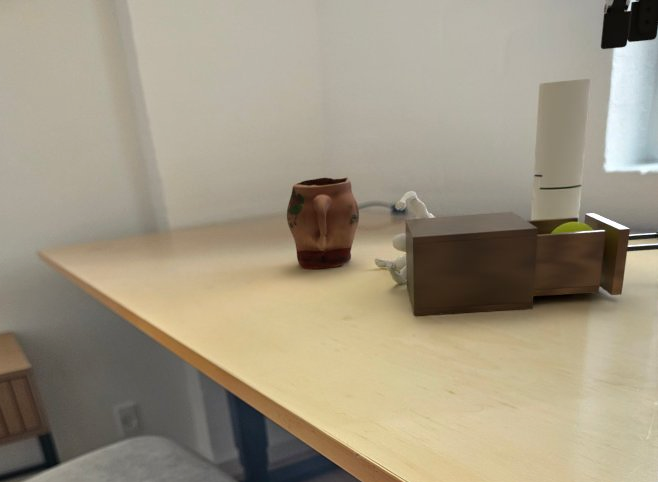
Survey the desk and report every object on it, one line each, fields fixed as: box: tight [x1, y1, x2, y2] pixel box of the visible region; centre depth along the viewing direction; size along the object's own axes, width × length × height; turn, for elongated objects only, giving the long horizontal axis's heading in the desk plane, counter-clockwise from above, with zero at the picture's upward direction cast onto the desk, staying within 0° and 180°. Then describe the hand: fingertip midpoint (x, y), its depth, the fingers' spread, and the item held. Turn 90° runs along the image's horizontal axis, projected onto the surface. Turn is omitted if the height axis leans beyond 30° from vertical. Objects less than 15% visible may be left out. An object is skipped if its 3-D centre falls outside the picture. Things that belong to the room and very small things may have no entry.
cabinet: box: [405, 211, 538, 317], centre depth 86 cm, size 15×15×10 cm
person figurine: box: [374, 190, 436, 285], centre depth 101 cm, size 13×13×18 cm
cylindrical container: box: [530, 78, 593, 221], centre depth 101 cm, size 7×7×25 cm
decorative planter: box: [286, 177, 360, 270], centre depth 112 cm, size 20×12×14 cm, turn 5°
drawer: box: [526, 212, 658, 297], centre depth 85 cm, size 22×13×8 cm, turn 87°
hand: (626, 44), depth 83 cm, fingers open, 9 cm apart
